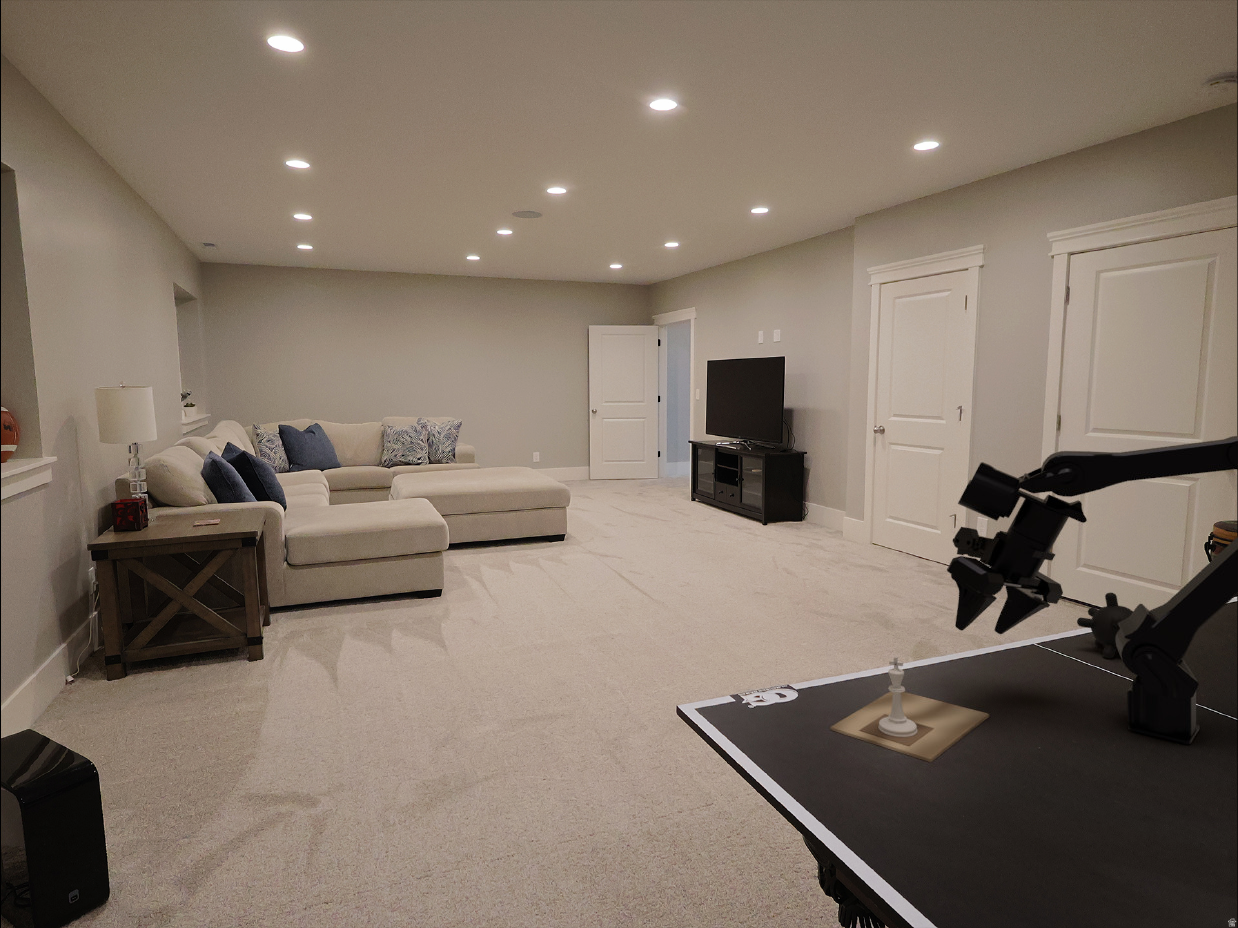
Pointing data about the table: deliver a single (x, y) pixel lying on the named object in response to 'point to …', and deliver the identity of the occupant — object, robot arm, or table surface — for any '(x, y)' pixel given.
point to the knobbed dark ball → (1106, 624)
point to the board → (932, 718)
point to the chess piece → (897, 707)
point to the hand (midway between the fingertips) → (978, 630)
